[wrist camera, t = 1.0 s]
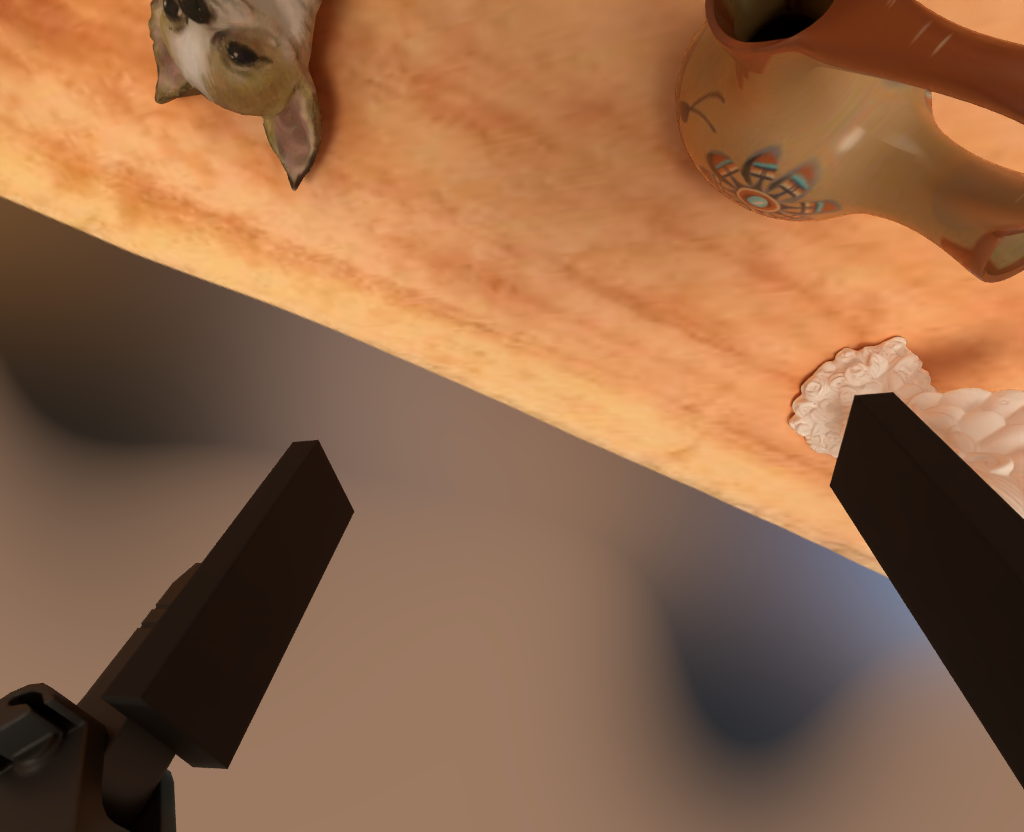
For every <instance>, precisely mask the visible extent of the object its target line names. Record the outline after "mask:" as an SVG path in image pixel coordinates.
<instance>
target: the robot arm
mask: <svg viewBox="0 0 1024 832" xmlns="http://www.w3.org/2000/svg"><path fill="white" fill-rule="evenodd" d="M830 487H831V488H832V490H833V492H834V493H835V495H836V496H837V498H838V499H839V501H840V503H841V504H842V506H843V507H844V509H845V510H846V512H847V514H848V515H849V517H850V518H851V520H852V521H853V523H854V524H855V526H856V528H857V529H858V531H859V532H860V534H861V535H862V537H863V539H864V540H865V542H866V543H867V545H868V546H869V548H870V549H871V551H872V553H873V554H874V556H875V557H876V559H877V560H878V562H879V564H880V565H881V567H882V568H883V570H884V571H885V573H886V574H887V576H888V578H889V579H890V581H891V582H892V584H893V585H894V587H895V589H896V590H897V592H898V593H899V595H900V596H901V598H902V599H903V601H904V603H905V604H906V606H907V607H908V609H909V610H910V612H911V613H912V615H913V616H914V618H915V620H916V621H917V623H918V624H919V626H920V628H921V629H922V631H923V632H924V634H925V635H926V637H927V638H928V640H929V642H930V643H931V645H932V646H933V648H934V649H935V651H936V653H937V654H938V656H939V657H940V659H941V660H942V662H943V664H944V665H945V666H946V668H947V670H948V671H949V673H950V675H951V676H952V678H953V679H954V681H955V682H956V684H957V685H958V687H959V688H960V690H961V691H962V693H963V695H964V696H965V698H966V700H967V701H968V703H969V704H970V706H971V707H972V709H973V710H974V712H975V713H976V715H977V717H978V718H979V720H980V721H981V723H982V724H983V726H984V728H985V729H986V731H987V732H988V734H989V735H990V737H991V739H992V740H993V742H994V743H995V745H996V746H997V748H998V750H999V751H1000V753H1001V754H1002V756H1003V757H1004V759H1005V760H1006V762H1007V764H1008V765H1009V767H1010V768H1011V770H1012V771H1013V773H1014V775H1015V776H1016V778H1017V779H1018V781H1019V782H1020V784H1021V785H1022V787H1023V789H1024V519H1023V518H1022V517H1021V516H1020V515H1019V514H1018V513H1017V512H1016V511H1015V510H1014V509H1013V508H1012V507H1011V506H1010V505H1009V504H1008V503H1007V502H1006V501H1005V500H1004V499H1003V498H1002V497H1001V496H1000V495H999V494H998V493H997V492H996V491H995V490H993V489H992V488H991V487H990V486H989V485H988V484H987V483H986V482H985V481H984V480H983V479H982V478H981V477H980V476H979V475H978V474H977V473H976V472H975V471H974V470H973V469H972V468H971V467H970V466H969V465H968V464H967V463H966V462H965V461H964V460H963V459H962V458H960V457H959V456H958V455H957V454H956V453H955V452H954V451H953V450H952V449H951V448H950V447H949V446H948V445H947V444H946V443H945V442H944V441H943V440H942V439H941V438H940V437H939V436H938V435H937V434H936V433H935V432H934V431H933V430H932V429H931V428H930V427H929V426H928V425H926V424H925V423H924V422H923V421H922V420H921V419H920V418H919V417H918V416H917V415H916V414H915V413H914V412H913V411H912V410H911V409H910V408H909V407H908V406H907V405H906V404H905V403H904V402H903V401H902V400H901V399H900V398H899V397H898V396H897V395H896V394H895V393H893V392H887V393H875V394H863V395H854V399H853V402H852V406H851V410H850V414H849V417H848V421H847V425H846V428H845V432H844V436H843V439H842V443H841V447H840V450H839V454H838V458H837V461H836V465H835V469H834V472H833V476H832V480H831V483H830ZM353 513H354V510H353V508H352V506H351V504H350V502H349V500H348V498H347V496H346V494H345V492H344V490H343V488H342V486H341V484H340V482H339V480H338V478H337V476H336V474H335V472H334V470H333V468H332V466H331V464H330V462H329V460H328V458H327V456H326V454H325V452H324V450H323V448H322V447H321V444H320V442H319V441H318V440H313V441H302V442H293V443H292V444H291V445H290V447H289V448H288V449H287V451H286V452H285V453H284V455H283V456H282V457H281V459H280V460H279V461H278V463H277V464H276V465H275V467H274V468H273V469H272V471H271V472H270V473H269V475H268V476H267V477H266V479H265V480H264V481H263V482H262V484H261V485H260V486H259V488H258V489H257V490H256V492H255V493H254V495H253V496H252V497H251V498H250V500H249V501H248V502H247V504H246V505H245V506H244V508H243V509H242V510H241V512H240V513H239V514H238V516H237V517H236V518H235V520H234V521H233V522H232V524H231V525H230V526H229V528H228V529H227V530H226V532H225V533H224V534H223V536H222V537H221V538H220V540H219V541H218V542H217V543H216V545H215V546H214V548H213V549H212V550H211V552H210V553H209V554H208V555H207V557H206V558H205V560H204V561H203V562H202V563H196V564H194V565H193V566H192V567H191V568H190V569H189V570H187V571H186V572H185V573H184V574H183V575H182V576H180V577H179V578H178V579H177V580H176V581H175V582H173V583H172V585H171V586H170V587H169V589H168V590H167V591H166V592H165V594H164V595H163V596H162V598H161V599H160V600H159V601H158V603H157V604H156V608H155V609H152V610H151V612H150V613H149V614H148V616H147V617H146V618H145V619H144V621H143V622H142V623H141V624H142V626H141V628H137V630H136V631H135V632H134V633H133V635H132V636H131V637H130V639H129V640H128V641H127V642H126V644H125V645H124V646H123V647H122V649H121V650H120V651H119V653H118V654H117V655H116V656H115V658H114V659H113V660H112V662H111V663H110V664H109V665H108V667H107V668H106V669H105V671H104V672H103V673H102V674H101V676H100V677H99V678H98V679H97V681H96V682H95V683H94V685H93V686H92V687H91V688H90V690H89V691H88V692H87V694H86V695H85V696H84V697H83V699H82V700H81V701H80V702H79V703H78V704H77V705H75V704H74V703H72V702H71V701H70V700H68V699H67V698H65V697H64V696H63V695H61V694H60V693H58V692H57V691H55V690H54V689H53V688H51V687H49V686H48V685H45V684H44V683H40V684H31V685H27V686H25V687H22V688H20V689H18V690H16V691H13V692H11V693H9V694H8V695H6V696H5V697H3V698H2V699H0V832H176V817H175V796H174V781H173V778H172V775H171V772H170V771H169V770H167V768H168V766H169V764H170V763H171V761H172V759H173V758H174V756H175V754H176V755H178V756H179V757H180V758H181V759H183V760H184V761H186V762H187V763H189V765H191V766H192V767H202V768H222V769H228V767H229V765H230V763H231V761H232V759H233V757H234V755H235V753H236V751H237V749H238V747H239V745H240V742H241V741H242V738H243V737H244V734H245V732H246V731H247V728H248V726H249V724H250V722H251V720H252V718H253V716H254V714H255V712H256V710H257V708H258V706H259V704H260V702H261V700H262V698H263V696H264V694H265V692H266V690H267V688H268V686H269V684H270V682H271V680H272V678H273V676H274V674H275V672H276V670H277V667H278V666H279V663H280V661H281V659H282V657H283V655H284V653H285V651H286V649H287V647H288V645H289V643H290V641H291V639H292V637H293V635H294V633H295V631H296V629H297V627H298V625H299V623H300V621H301V619H302V617H303V615H304V612H305V611H306V609H307V606H308V604H309V602H310V600H311V598H312V596H313V594H314V592H315V590H316V588H317V586H318V584H319V582H320V580H321V578H322V576H323V574H324V572H325V570H326V568H327V566H328V564H329V562H330V560H331V558H332V556H333V554H334V552H335V550H336V548H337V546H338V544H339V542H340V539H341V537H342V536H343V533H344V531H345V529H346V527H347V525H348V523H349V521H350V519H351V517H352V515H353Z"/></svg>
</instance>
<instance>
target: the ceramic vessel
mask: <svg viewBox="0 0 1024 832" xmlns="http://www.w3.org/2000/svg"><path fill="white" fill-rule="evenodd" d="M705 11H706V18H707V21H706V22H705V23H704V24H703V26H702V27H701V28H700V29H699V31H698V32H697V34H696V35H695V37H694V38H693V40H692V41H691V43H690V45H689V47H688V49H687V51H686V53H685V55H684V58H683V61H682V64H681V67H680V70H679V74H678V79H677V85H676V115H677V121H678V126H679V130H680V134H681V137H682V140H683V142H684V145H685V147H686V149H687V151H688V153H689V155H690V157H691V159H692V161H693V162H694V164H695V165H696V167H697V168H698V170H699V171H700V172H701V174H702V175H703V176H704V177H705V178H706V179H707V180H708V182H709V183H710V184H711V185H712V186H714V187H715V188H716V189H717V190H718V191H719V192H720V193H722V194H723V195H724V196H726V197H727V198H728V199H730V200H731V201H733V202H735V203H736V204H738V205H740V206H742V207H744V208H746V209H748V210H750V211H753V212H755V213H758V214H761V215H764V216H767V217H771V218H775V219H780V220H787V221H819V220H826V219H831V218H836V217H840V216H844V215H850V214H869V215H873V216H878V217H881V218H885V219H888V220H891V221H894V222H897V223H899V224H902V225H904V226H906V227H908V228H910V229H912V230H914V231H916V232H918V233H919V234H921V235H923V236H924V237H926V238H927V239H929V240H930V241H932V242H933V243H935V244H936V245H938V246H939V247H940V248H942V249H943V250H944V251H945V252H947V253H948V254H949V255H950V256H952V257H953V258H954V259H955V260H956V261H958V262H959V263H960V264H961V265H962V266H964V267H965V268H966V269H967V270H968V271H969V272H971V273H972V274H973V275H974V276H976V277H977V278H979V279H980V280H982V281H984V282H989V283H993V282H998V281H1002V280H1005V279H1007V278H1010V277H1012V276H1014V275H1016V274H1018V273H1020V272H1021V271H1023V270H1024V173H1021V172H1017V171H1014V170H1011V169H1008V168H1005V167H1002V166H999V165H997V164H994V163H991V162H989V161H987V160H984V159H982V158H980V157H978V156H976V155H974V154H973V153H971V152H969V151H967V150H966V149H964V148H963V147H961V146H960V145H958V144H957V143H955V142H954V141H953V140H951V139H950V138H949V137H948V136H946V135H945V134H944V133H943V132H942V131H941V130H940V128H939V127H938V125H937V124H936V122H935V119H934V116H933V112H932V96H931V91H932V92H936V93H939V94H943V95H946V96H950V97H953V98H956V99H959V100H963V101H966V102H969V103H972V104H975V105H978V106H980V107H983V108H986V109H989V110H991V111H994V112H996V113H999V114H1001V115H1004V116H1006V117H1008V118H1011V119H1013V120H1015V121H1017V122H1019V123H1021V124H1023V125H1024V45H1022V44H1018V43H1014V42H1009V41H1006V40H1002V39H998V38H995V37H991V36H988V35H984V34H981V33H978V32H975V31H973V30H970V29H968V28H965V27H962V26H960V25H958V24H956V23H954V22H951V21H949V20H947V19H946V18H944V17H942V16H940V15H938V14H936V13H935V12H933V11H931V10H930V9H928V8H927V7H925V6H923V5H922V4H921V3H919V2H918V1H916V0H705Z"/></svg>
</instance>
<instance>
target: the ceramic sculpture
mask: <svg viewBox="0 0 1024 832" xmlns="http://www.w3.org/2000/svg"><path fill="white" fill-rule="evenodd" d="M321 3H322V0H152V2H151V12H152V14H151V18H150V20H149V29H150V37H151V38H152V40H153V41H154V44H153V50H154V55H155V60H156V63H157V69H158V81H157V85H156V93H155V101H156V102H157V103H159V104H164V103H167V102H169V101H171V100H174V99H176V98H179V97H186V96H192V95H200V94H202V95H203V96H205V97H206V98H207V99H208V100H210V101H212V102H214V103H216V104H217V105H219V106H221V107H223V108H225V109H228V110H230V111H233V112H236V113H239V114H242V115H253V116H262V117H263V118H264V124H263V125H264V128H265V132H266V135H267V138H268V141H269V143H270V145H271V147H272V149H273V151H274V152H275V153H276V154H277V156H278V158H279V159H280V161H281V163H282V165H283V167H284V169H285V170H286V172H287V175H288V179H289V182H290V185H291V188H292V189H293V191H296V189H297V188H298V186H299V185H300V183H301V181H302V180H303V178H304V177H305V175H306V174H307V173H308V172H309V171H310V168H311V167H312V165H313V163H314V161H315V158H316V156H317V153H318V151H319V148H320V143H321V131H322V120H321V109H320V104H319V99H318V95H317V91H316V88H315V85H314V82H313V79H312V77H311V75H310V72H309V68H308V64H309V61H310V56H311V50H312V38H313V31H314V25H315V16H316V13H317V12H318V10H319V7H320V5H321Z"/></svg>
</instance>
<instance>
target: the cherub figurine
mask: <svg viewBox="0 0 1024 832" xmlns="http://www.w3.org/2000/svg"><path fill="white" fill-rule="evenodd" d="M906 343H907V341H906V339H905V338H902V337H894V338H891V339H890V340H887V341H885V342H883V343H881V344H879V345H877V346H866V347H864V348H863V349H861V350H858V351H856V350H853V349H851V348H844V349H842V350H841V351H839V352H838V353H837V354H836V357H835V360H833V361H827V362H825V363H823V364H822V365H821V366H820V367H819V368H818V369H817V371H816V372H815V373H814V374H813V375H812V376H811V377H810V378H809V379H808V380H807V381H806V382H805V383H804V384H803V385H802V386H801V392H802V394H801V395H800V396H799V397H798V398H797V399H795V401H794V402H793V404H792V409H793V411H794V412H795V415H794V416H793V417H792V418H791V419H790V420H789V425H790V427H791V428H792V429H793V430H795V431H796V433H797V434H799V435H801V436H804V437H805V440H806V443H808V444H811V445H810V448H811V449H812V450H814V451H816V452H818V453H822V454H825V453H827V454H831V456H832V457H836V458H838V454H839V450H840V447H841V443H842V439H843V436H844V432H845V428H846V425H847V421H848V417H849V414H850V410H851V406H852V402H853V399H854V395H863V394H875V393H887V392H893V393H895V394H896V395H897V396H898V397H899V398H900V399H901V400H902V401H903V402H904V403H905V404H906V405H907V406H908V407H909V408H910V409H911V410H912V411H913V412H914V413H915V414H916V415H917V416H918V417H919V418H920V419H921V420H922V421H923V422H924V423H925V424H926V425H928V426H929V427H930V428H931V429H932V430H933V431H934V432H935V433H936V434H937V435H938V436H939V437H940V438H941V439H942V440H943V441H944V442H945V443H946V444H947V445H948V446H949V447H950V448H951V449H952V450H953V451H954V452H955V453H956V454H957V455H958V456H959V457H960V458H962V459H963V460H964V461H965V462H966V463H967V464H968V465H969V466H970V467H971V468H972V469H973V470H974V471H975V472H976V473H977V474H978V475H979V476H980V477H981V478H982V479H983V480H984V481H985V482H986V483H987V484H988V485H989V486H990V487H991V488H992V489H993V490H995V491H996V492H997V493H998V494H999V495H1000V496H1001V497H1002V498H1003V499H1004V500H1005V501H1006V502H1007V503H1008V504H1009V505H1010V506H1011V507H1012V508H1013V509H1014V510H1015V511H1016V512H1017V513H1018V514H1019V515H1020V516H1021V517H1022V518H1023V519H1024V391H1023V390H1000V391H994V392H989V391H986V390H984V389H981V388H974V387H971V388H961V389H956V390H951V391H948V392H945V393H938V392H937V390H936V388H935V387H933V386H932V385H931V384H930V383H931V378H930V377H929V376H930V375H929V373H928V371H925V370H924V369H921V368H922V365H923V362H922V361H920V360H919V359H918V356H917V355H915V354H913V352H911V351H910V350H909V349H908V348H906Z"/></svg>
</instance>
